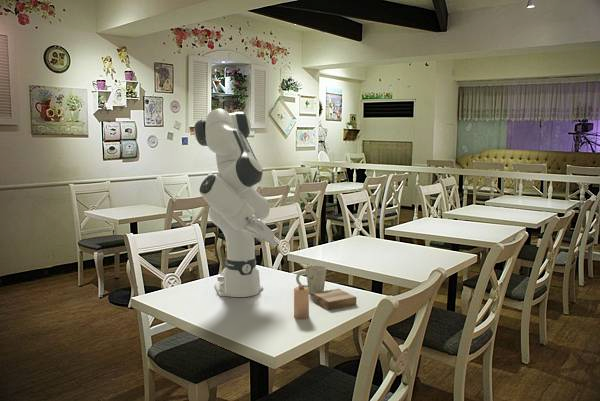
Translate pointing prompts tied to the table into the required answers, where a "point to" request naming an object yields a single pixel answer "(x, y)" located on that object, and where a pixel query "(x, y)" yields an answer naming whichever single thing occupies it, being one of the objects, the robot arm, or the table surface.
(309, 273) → the mug
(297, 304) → the canister
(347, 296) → the pedestal
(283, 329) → the table surface
